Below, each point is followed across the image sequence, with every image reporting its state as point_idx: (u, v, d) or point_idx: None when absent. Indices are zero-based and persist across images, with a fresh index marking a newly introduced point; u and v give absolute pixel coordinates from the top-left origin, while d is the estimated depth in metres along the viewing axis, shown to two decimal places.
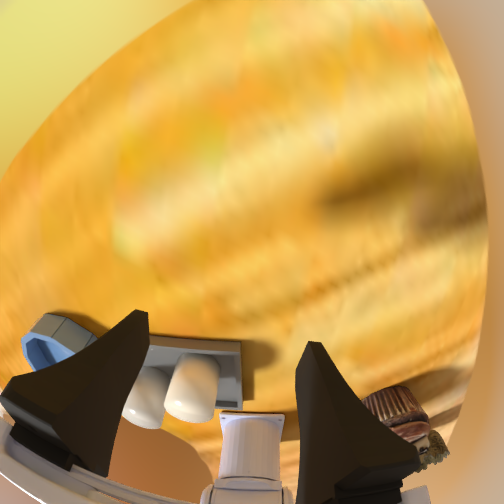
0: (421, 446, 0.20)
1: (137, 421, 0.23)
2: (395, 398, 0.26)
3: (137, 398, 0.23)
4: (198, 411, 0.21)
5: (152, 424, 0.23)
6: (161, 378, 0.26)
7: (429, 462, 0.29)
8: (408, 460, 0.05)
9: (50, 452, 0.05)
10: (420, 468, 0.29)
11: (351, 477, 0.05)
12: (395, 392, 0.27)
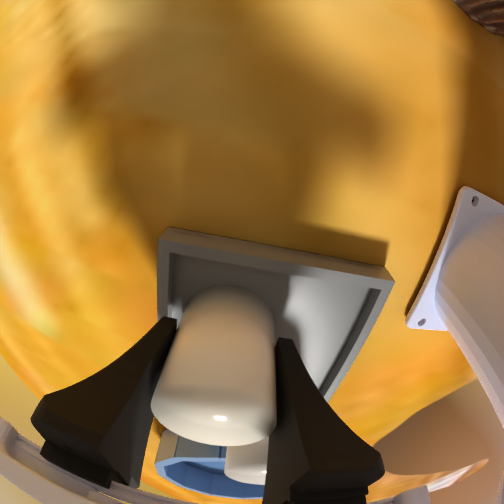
0: None
1: None
2: None
3: (226, 453, 0.12)
4: (210, 408, 0.08)
5: None
6: None
7: None
8: (367, 467, 0.05)
9: (50, 452, 0.05)
10: None
11: (304, 480, 0.05)
12: None
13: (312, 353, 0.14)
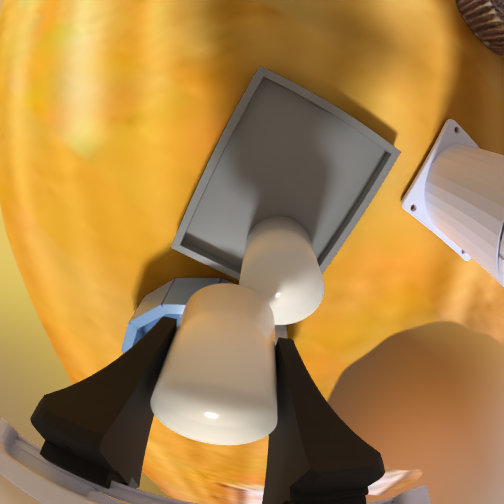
0: None
1: (290, 307, 0.15)
2: None
3: (245, 262, 0.15)
4: (211, 405, 0.08)
5: (307, 283, 0.14)
6: (268, 222, 0.17)
7: None
8: (367, 467, 0.05)
9: (50, 452, 0.05)
10: None
11: (304, 480, 0.05)
12: None
13: (330, 202, 0.18)
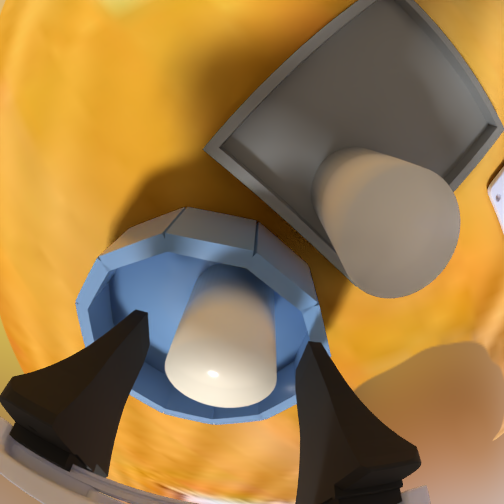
0: None
1: (405, 269, 0.08)
2: None
3: (354, 177, 0.08)
4: (219, 364, 0.10)
5: (441, 234, 0.07)
6: (362, 148, 0.11)
7: None
8: (408, 460, 0.05)
9: (50, 452, 0.05)
10: None
11: (351, 477, 0.05)
12: None
13: (429, 155, 0.11)
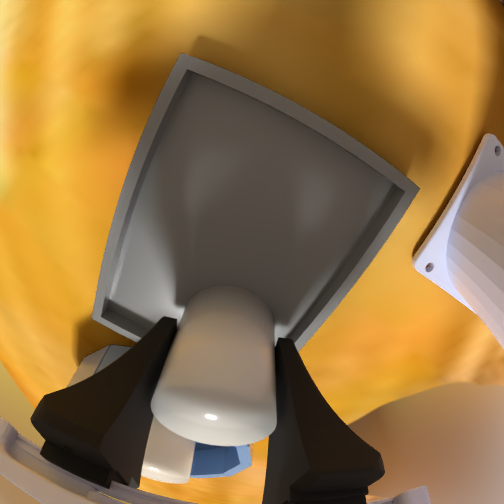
0: None
1: (228, 434, 0.09)
2: None
3: (160, 375, 0.09)
4: (143, 465, 0.11)
5: (249, 416, 0.08)
6: (206, 299, 0.12)
7: None
8: (367, 467, 0.05)
9: (50, 452, 0.05)
10: None
11: (304, 480, 0.05)
12: None
13: (303, 265, 0.12)
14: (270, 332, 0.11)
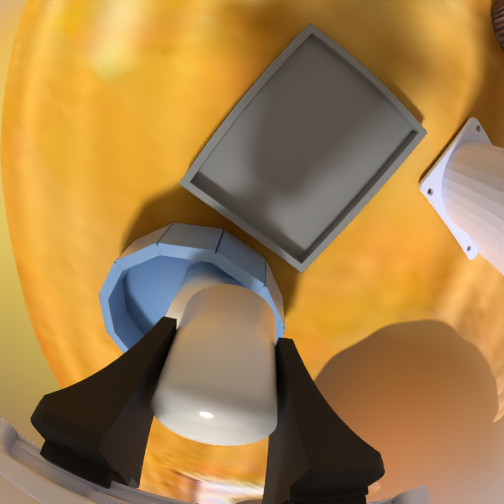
0: None
1: (228, 433, 0.09)
2: (503, 0, 0.07)
3: (161, 373, 0.09)
4: None
5: (250, 416, 0.08)
6: (207, 297, 0.12)
7: None
8: (367, 467, 0.05)
9: (50, 452, 0.05)
10: None
11: (304, 480, 0.05)
12: (499, 2, 0.07)
13: (353, 166, 0.17)
14: (271, 331, 0.11)
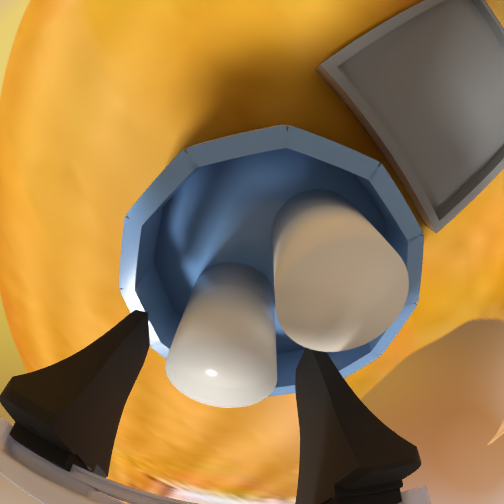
0: None
1: (233, 393, 0.11)
2: None
3: (175, 336, 0.11)
4: (354, 277, 0.08)
5: (253, 373, 0.10)
6: (216, 273, 0.13)
7: None
8: (408, 460, 0.05)
9: (50, 452, 0.05)
10: None
11: (351, 477, 0.05)
12: None
13: (493, 125, 0.10)
14: (271, 303, 0.13)
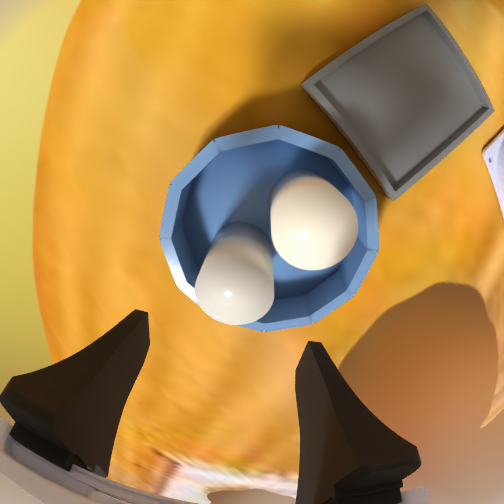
0: None
1: (242, 309, 0.16)
2: None
3: (202, 266, 0.16)
4: (319, 213, 0.13)
5: (257, 287, 0.15)
6: (230, 228, 0.19)
7: None
8: (408, 460, 0.05)
9: (50, 452, 0.05)
10: None
11: (351, 477, 0.05)
12: None
13: (442, 119, 0.15)
14: (270, 249, 0.18)
